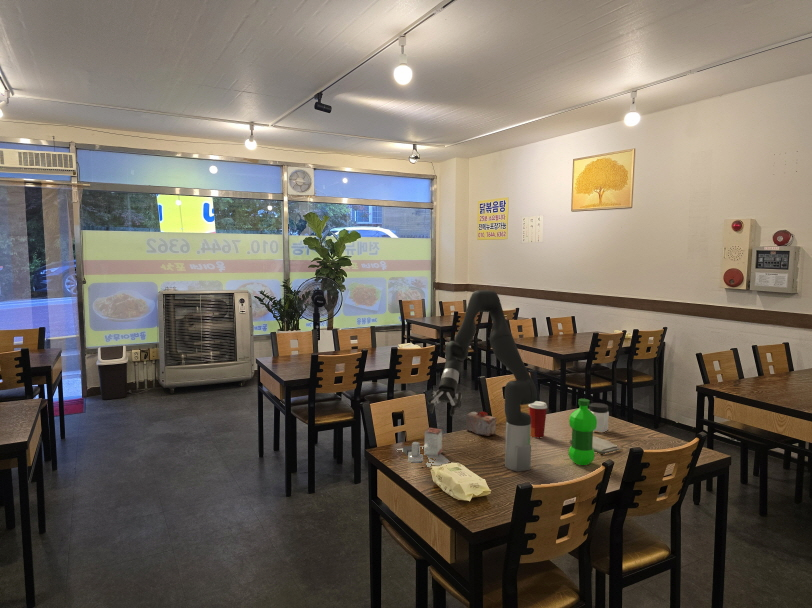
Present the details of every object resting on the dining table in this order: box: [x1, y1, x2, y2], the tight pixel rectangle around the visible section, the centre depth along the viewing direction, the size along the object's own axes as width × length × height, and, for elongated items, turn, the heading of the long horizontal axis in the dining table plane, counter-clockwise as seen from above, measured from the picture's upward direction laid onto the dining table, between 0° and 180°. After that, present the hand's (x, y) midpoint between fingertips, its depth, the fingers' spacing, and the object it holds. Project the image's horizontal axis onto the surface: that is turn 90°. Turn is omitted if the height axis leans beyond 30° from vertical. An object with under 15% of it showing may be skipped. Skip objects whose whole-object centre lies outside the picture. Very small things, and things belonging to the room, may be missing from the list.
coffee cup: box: [527, 400, 548, 439], centre depth 238 cm, size 8×8×15 cm
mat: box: [396, 445, 451, 468], centre depth 211 cm, size 22×16×1 cm
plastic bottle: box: [568, 398, 597, 466], centre depth 206 cm, size 10×10×25 cm
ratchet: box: [402, 441, 423, 463], centre depth 209 cm, size 14×6×7 cm, turn 19°
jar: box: [588, 402, 610, 433], centre depth 248 cm, size 9×8×12 cm
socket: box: [423, 427, 443, 457], centre depth 214 cm, size 6×6×10 cm
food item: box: [466, 410, 498, 437], centre depth 242 cm, size 14×8×10 cm, turn 48°
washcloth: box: [569, 435, 620, 455], centre depth 226 cm, size 12×18×3 cm, turn 31°
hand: (441, 413), depth 223 cm, fingers open, 8 cm apart
